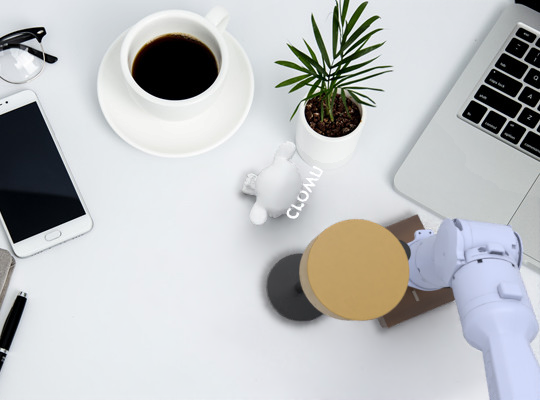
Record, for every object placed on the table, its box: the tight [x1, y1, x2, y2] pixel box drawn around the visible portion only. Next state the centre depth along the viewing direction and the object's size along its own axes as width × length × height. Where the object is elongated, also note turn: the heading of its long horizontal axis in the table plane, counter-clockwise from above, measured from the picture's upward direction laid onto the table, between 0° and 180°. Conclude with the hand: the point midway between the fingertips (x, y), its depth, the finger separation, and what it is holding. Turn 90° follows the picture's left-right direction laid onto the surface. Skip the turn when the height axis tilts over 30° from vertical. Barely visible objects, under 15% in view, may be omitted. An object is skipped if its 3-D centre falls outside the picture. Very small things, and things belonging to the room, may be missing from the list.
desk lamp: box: [265, 218, 411, 322], centre depth 60 cm, size 9×10×48 cm
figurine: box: [241, 140, 324, 227], centre depth 82 cm, size 12×8×10 cm
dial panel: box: [377, 214, 455, 329], centre depth 82 cm, size 12×10×3 cm
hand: (404, 269), depth 80 cm, fingers closed on dial knob, 4 cm apart
